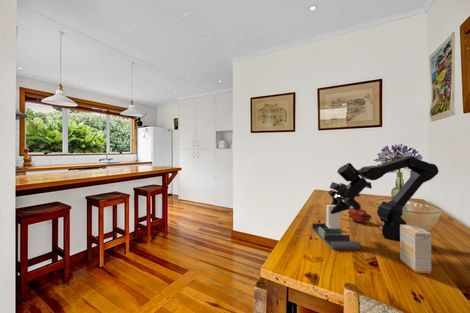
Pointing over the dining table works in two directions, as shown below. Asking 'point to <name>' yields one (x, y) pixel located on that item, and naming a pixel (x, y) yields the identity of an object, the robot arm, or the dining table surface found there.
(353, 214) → the dragon fruit
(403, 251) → the supplement box
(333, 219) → the white pedestal column
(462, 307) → the dining table surface
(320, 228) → the rack
